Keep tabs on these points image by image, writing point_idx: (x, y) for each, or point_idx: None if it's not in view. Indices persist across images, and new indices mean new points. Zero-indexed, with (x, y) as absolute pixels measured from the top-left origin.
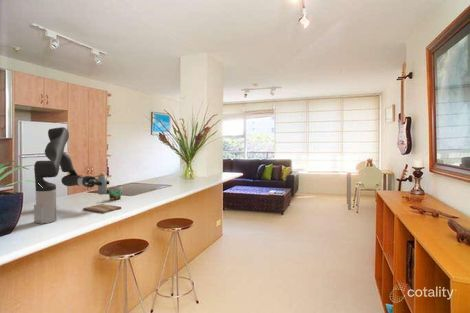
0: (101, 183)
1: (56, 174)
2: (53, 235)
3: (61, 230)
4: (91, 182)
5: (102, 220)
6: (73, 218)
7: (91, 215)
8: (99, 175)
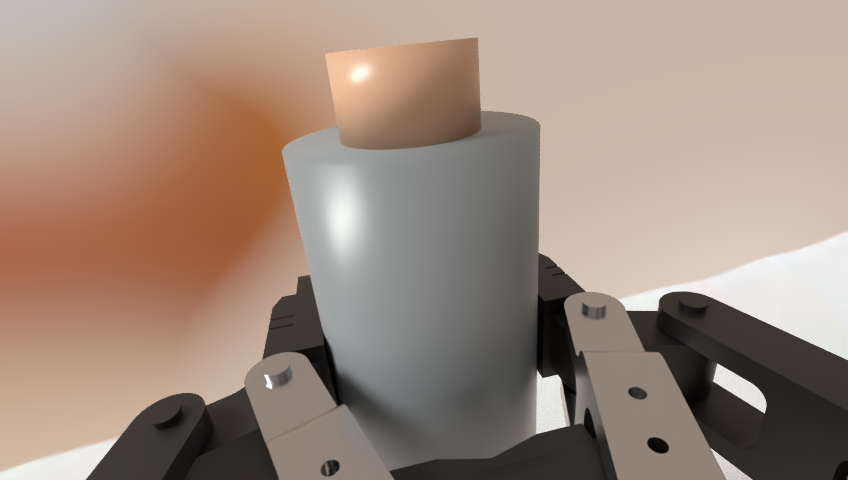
0: None
1: None
2: (843, 256)
3: (828, 286)
4: (738, 326)
5: None
6: None
7: None
8: (486, 134)
